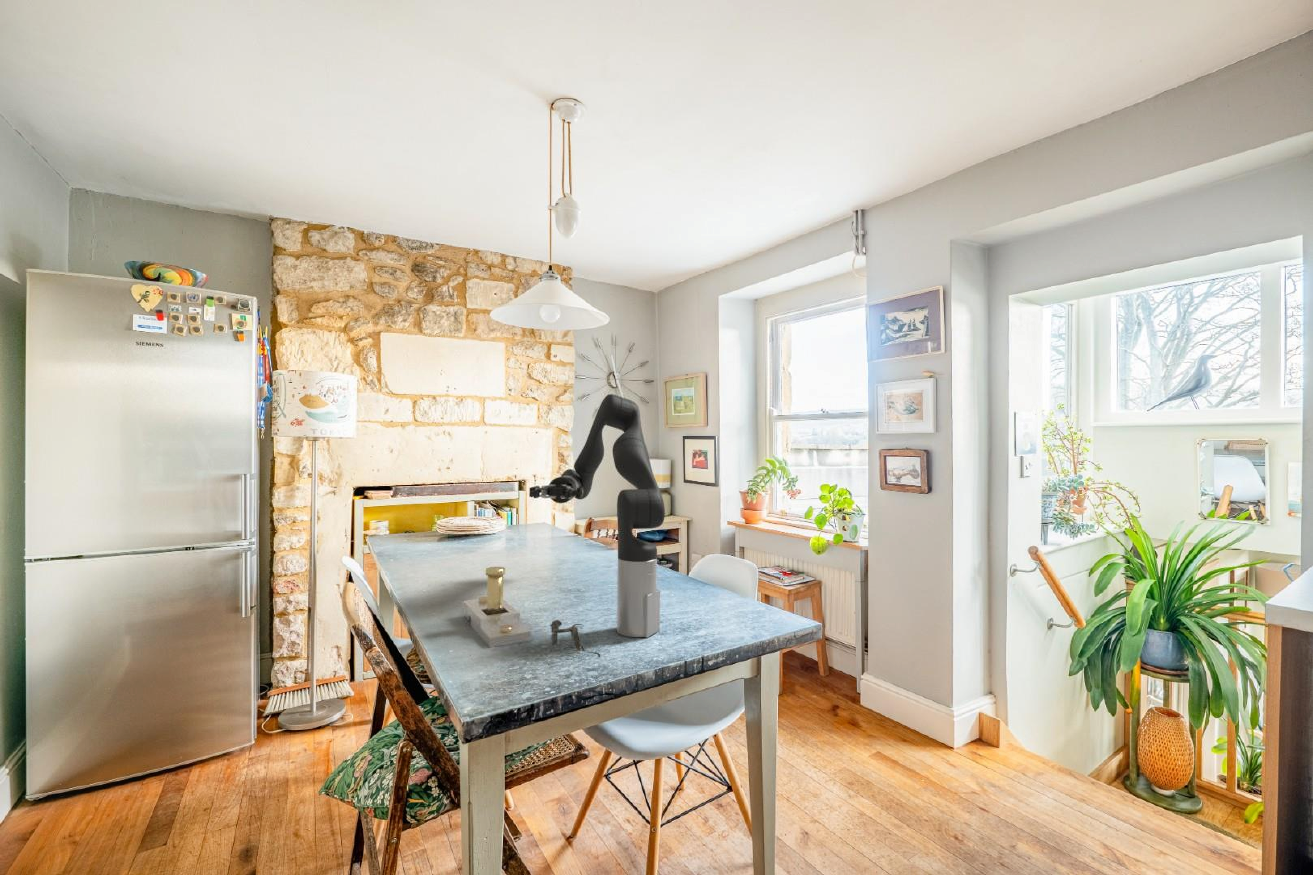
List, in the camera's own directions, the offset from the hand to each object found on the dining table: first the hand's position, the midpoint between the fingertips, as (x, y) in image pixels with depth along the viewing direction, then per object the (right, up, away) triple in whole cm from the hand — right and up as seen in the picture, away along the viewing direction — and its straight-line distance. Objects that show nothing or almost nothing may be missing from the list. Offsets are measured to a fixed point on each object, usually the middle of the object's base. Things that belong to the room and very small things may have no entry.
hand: (550, 494), depth 153 cm
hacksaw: (+10, -31, -24) cm, 40 cm away
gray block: (-10, -30, -17) cm, 36 cm away
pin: (-10, -30, -16) cm, 36 cm away
